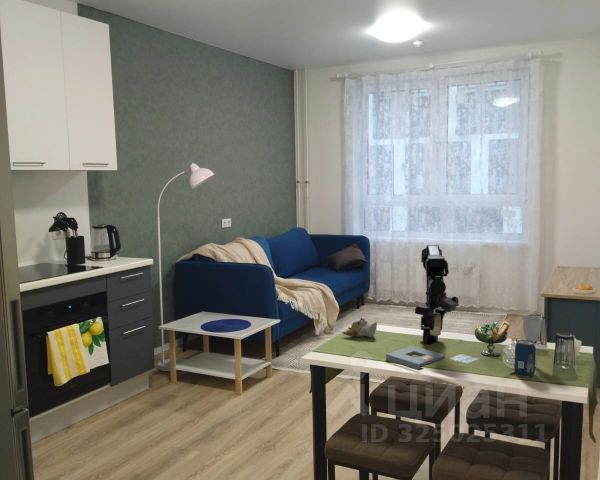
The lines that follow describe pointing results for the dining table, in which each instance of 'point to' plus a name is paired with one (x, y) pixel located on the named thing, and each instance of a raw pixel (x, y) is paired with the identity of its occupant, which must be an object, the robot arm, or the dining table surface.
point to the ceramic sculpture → (362, 329)
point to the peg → (436, 326)
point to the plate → (464, 358)
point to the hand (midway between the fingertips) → (435, 329)
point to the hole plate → (412, 362)
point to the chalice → (532, 328)
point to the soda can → (525, 358)
